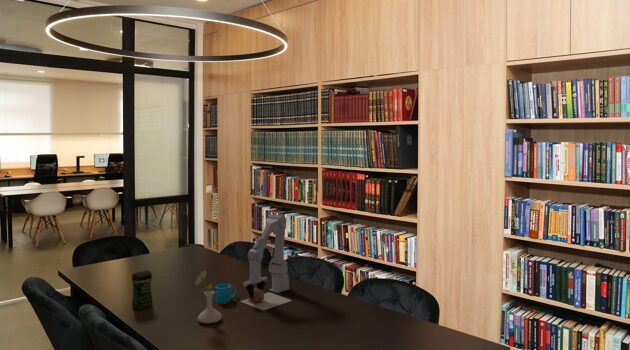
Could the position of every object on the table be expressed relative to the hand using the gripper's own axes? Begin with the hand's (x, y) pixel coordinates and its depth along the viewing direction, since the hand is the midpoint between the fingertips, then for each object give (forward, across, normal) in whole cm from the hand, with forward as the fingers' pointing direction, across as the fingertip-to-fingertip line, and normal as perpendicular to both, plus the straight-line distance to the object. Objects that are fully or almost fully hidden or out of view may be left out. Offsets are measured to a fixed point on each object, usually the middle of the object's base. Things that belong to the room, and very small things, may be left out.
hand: (255, 296), depth 244 cm
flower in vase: (+3, +32, +4) cm, 32 cm away
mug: (+3, +9, -14) cm, 17 cm away
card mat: (+3, -4, +4) cm, 6 cm away
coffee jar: (+3, +45, -36) cm, 58 cm away
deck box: (+1, 0, 0) cm, 1 cm away
